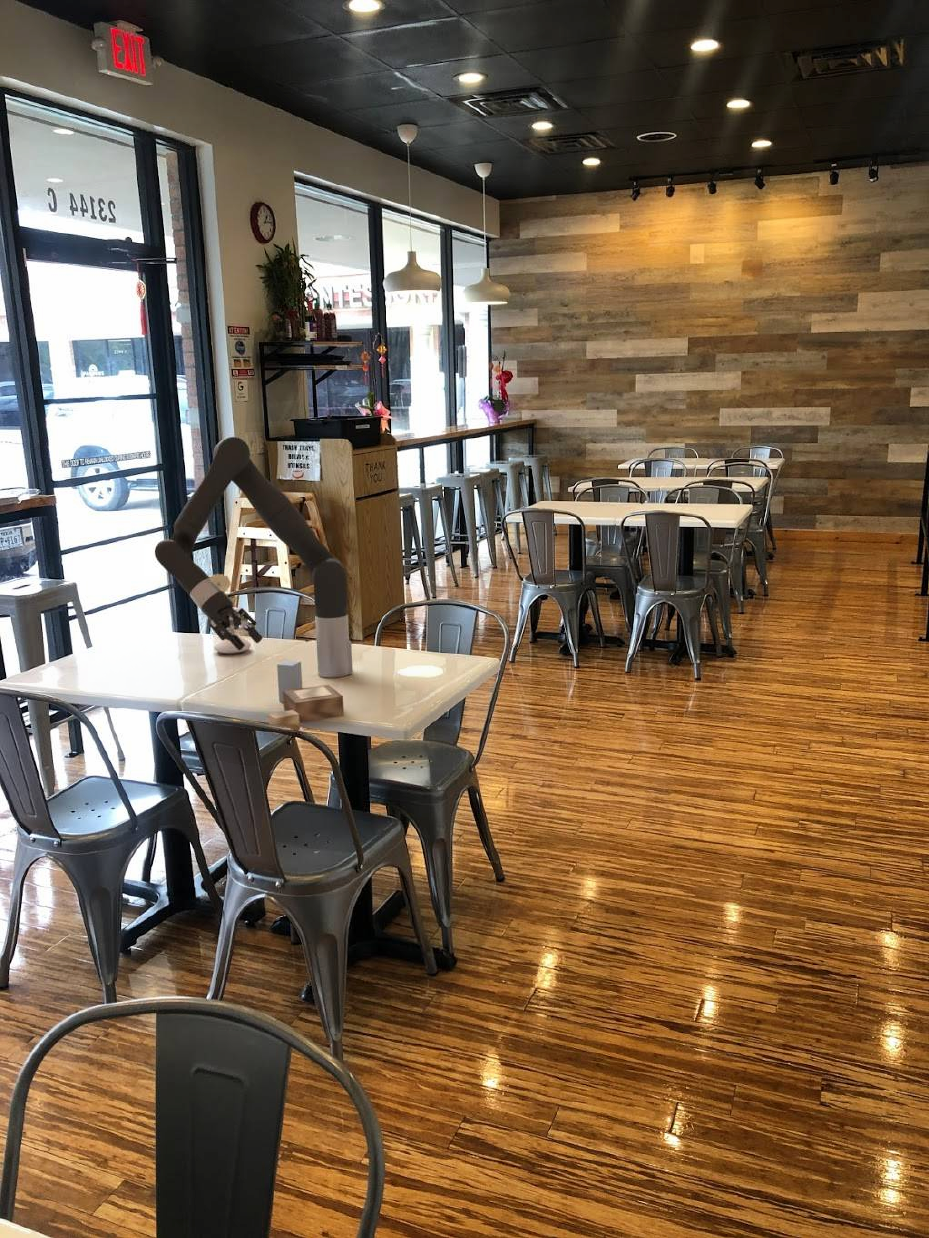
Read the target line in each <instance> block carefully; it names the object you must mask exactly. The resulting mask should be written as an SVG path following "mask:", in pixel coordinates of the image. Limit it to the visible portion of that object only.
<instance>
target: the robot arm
mask: <svg viewBox="0 0 929 1238" xmlns="http://www.w3.org/2000/svg"><path fill="white" fill-rule="evenodd" d="M212 457H213V459H212V462H211V464H210V467H209V469H208V471H207V473H206V475H205V477H204V478H203V480H202V481H201V483H200V484H199V486H198V487H197V489H195V491H194V492H193V494H192V495H191V496H190V498H189V499H188V500H187V502H186V504H185V505H184V507H183V509H181V512H180V514H179V515H178V517H177V518H176V520H175V522H174V524H173V530H174V531H173V534H172V536H171V537H170V539H163V540H160V541H159V542H158V543H157V544H156V546H155V548H154V555H155V556H154V557H155V559H156V560H157V561H158V563H159V564H160V565H161V566H162V567H163V568H164V570H166V572H167V573H168V574H170V575H171V576H172V577H173V578H174V579H175V580H176V582H178V584H179V585H180V586H181V588H182V589H183V590H184V591H185V592H186V593H187V594H188V596H190V598H191V599H192V601H193V603H194V604H196V606H197V607H198V608H199V609H200V611H201V612H202V613H203V614H204V615H205V616H206V617H207V618H208V619H209V621H210V622H208V626H210V628H211V629H212V630H213V632H214V633H215V634H216V635H217V637H218V638H219V640H220V639H221V640H225V639H226V640H228V641H230V642H231V643H232V644H233V645H234V646H235V647H236V648H237V649H238V650H242V648H243V647H244V646H245V644H244V643H243V642H242V641H241V639H240V638H239V637H238V636H237V635H235V632H234V629H235V630H238V631H243V632H245V633H247V635H248V636H249V637H250V638H251V640H253V641H254V642H255V643H256V644H259V643H260V642H261V641H262V640H263V636H262V635H261V633H259V632H258V630H257V629H256V628H255V626H257V624H258V623H257V621H256V620H255V619H254V618H253V617H252V616H251V615H250V614H249V613H248V612H247V611H246V610H245V609H244V608H243V607H241V608H240V609H238V610H237V611H235V610H234V609H233V607H234V603H233V602H232V601H231V598H230V597H229V596H228V595H227V594H226V593H225V591H224V592H223V591H222V590H221V588H220V587H219V586H218V585H217V584H216V583H215V582H214V581H212V580H211V579H210V578H209V577H210V576H209V575H208V574H207V573H206V572H205V571H204V569H202V568H201V567H200V566H199V565H198V564H196V563H195V562H194V561H193V559H191V554H192V552H193V549H194V547H195V544H196V541H197V539H198V537H199V536H200V534H201V532H202V531H203V529H204V528H205V526H206V524H207V522H208V520H209V519H210V518H211V515H212V514H213V512H214V510H215V509H216V507H217V505H218V503H219V500H220V499H221V498H222V496H223V494H224V493H225V491H226V490H227V488H228V486H229V485H230V484H231V482H233V484H234V485H235V486H236V487H237V488H238V489H239V490H240V491H241V492H242V493H243V495H244V496H245V498H246V499H247V500H248V502H249V503H250V505H251V506H252V508H253V509H254V510H255V512H256V513H257V514H258V516H259V517H260V518H261V520H262V521H263V523H265V524H266V525H267V527H268V529H270V530H271V531H272V532H273V534H274V535H275V536H276V537H277V538H278V539H279V540H280V541H281V542H282V543H283V544H284V545H285V546H287V547H288V548H289V549H290V550H292V552H294V553H295V554H296V555H297V556H298V558H299V559H300V560H301V562H302V563H303V564H304V565H305V567H306V568H307V569H308V571H309V573H310V574H311V576H312V578H313V579H312V580H313V598H314V605H313V606H314V620H315V623H314V624H315V639H316V640H315V641H316V656H317V658H316V660H317V675H318V676H320V677H322V678H341V677H345V676H349V675H353V671H354V669H353V652H352V651H353V649H352V641H351V640H350V636H349V635H350V634H349V633H350V632H349V630H350V629H349V614H348V613H349V611H348V608H349V606H348V605H349V602H348V601H349V598H348V597H349V596H348V578H347V577H348V576H347V571H346V569H345V566H344V564H343V563H342V561H340V560H339V559H338V558H337V556H335V555H334V554H333V553H331V552H330V550H328V548H327V547H326V546H325V545H324V544H323V543H322V542H321V541H320V540H319V539H318V537H317V535H316V534H315V532H314V531H313V530H312V529H313V528H311V527H310V524H309V523H308V522H307V520H306V519H305V518H304V516H303V515H302V514H301V512H300V511H299V510H298V508H297V507H296V506H295V505H294V504H293V502H292V501H291V500H290V499H289V497H287V495H286V494H285V493H283V491H281V490H280V489H279V488H278V487H277V486H276V485H275V484H273V483H272V482H271V481H270V480H268V478H267V477H265V476H264V475H263V473H262V472H261V471H260V470H259V468H258V467H257V466H256V464H254V462H253V460H252V459H251V450H250V448H249V445H248V444H247V442H246V441H245V440H244V439H242V438H241V437H237V436H228V437H225V438H223V439H221V440H220V441H219V442H218V443H217V444H216V445H215V447H214V450H213V452H212ZM221 631H222V632H221Z"/></svg>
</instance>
